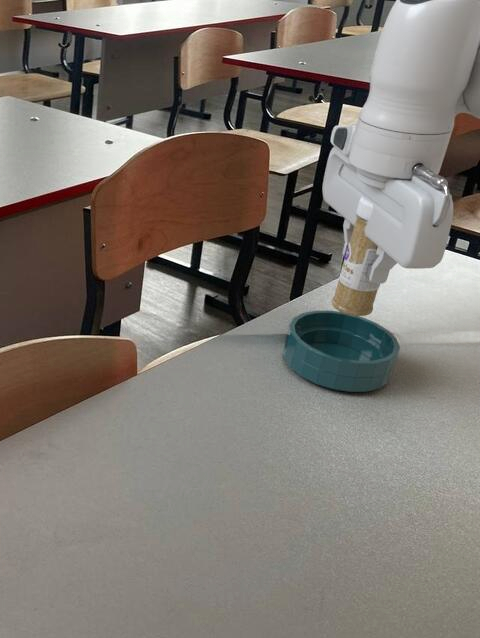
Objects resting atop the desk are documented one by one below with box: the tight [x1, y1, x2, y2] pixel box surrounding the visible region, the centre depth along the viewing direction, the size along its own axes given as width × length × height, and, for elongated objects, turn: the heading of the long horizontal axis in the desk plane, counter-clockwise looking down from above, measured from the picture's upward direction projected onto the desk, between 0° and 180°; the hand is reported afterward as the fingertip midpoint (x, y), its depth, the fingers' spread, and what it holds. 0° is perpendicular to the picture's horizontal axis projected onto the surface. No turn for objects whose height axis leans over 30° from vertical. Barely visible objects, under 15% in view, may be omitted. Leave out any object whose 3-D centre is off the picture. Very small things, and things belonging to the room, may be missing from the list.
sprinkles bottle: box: [331, 197, 381, 317], centre depth 85 cm, size 5×5×13 cm
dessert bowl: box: [282, 309, 401, 393], centre depth 92 cm, size 12×12×4 cm
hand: (362, 269), depth 86 cm, fingers closed on sprinkles bottle, 4 cm apart
